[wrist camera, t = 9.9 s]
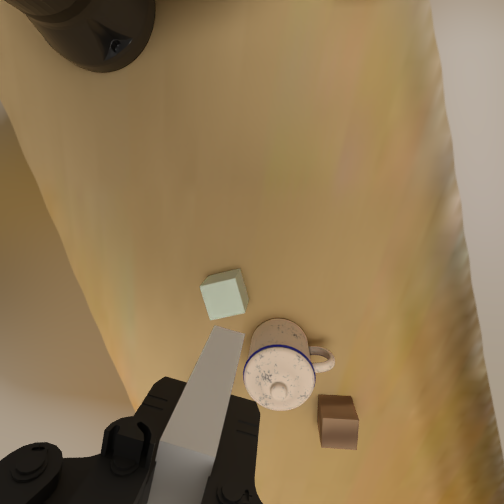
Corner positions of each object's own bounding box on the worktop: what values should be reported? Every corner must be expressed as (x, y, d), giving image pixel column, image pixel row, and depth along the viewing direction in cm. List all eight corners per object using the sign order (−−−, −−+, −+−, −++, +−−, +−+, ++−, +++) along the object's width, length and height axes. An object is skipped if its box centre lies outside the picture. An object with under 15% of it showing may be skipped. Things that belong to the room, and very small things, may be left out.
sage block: (208, 275, 45) (199, 286, 40) (240, 268, 44) (235, 278, 39) (217, 306, 46) (210, 320, 41) (249, 299, 45) (245, 312, 40)
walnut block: (318, 394, 47) (322, 417, 42) (350, 395, 47) (358, 420, 42) (317, 421, 48) (321, 447, 43) (348, 423, 48) (356, 449, 43)
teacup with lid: (254, 371, 47) (245, 430, 36) (245, 318, 46) (234, 362, 34) (331, 366, 46) (347, 425, 35) (325, 311, 44) (341, 354, 33)
